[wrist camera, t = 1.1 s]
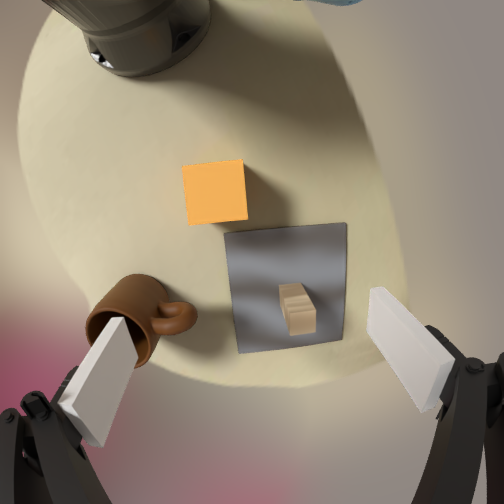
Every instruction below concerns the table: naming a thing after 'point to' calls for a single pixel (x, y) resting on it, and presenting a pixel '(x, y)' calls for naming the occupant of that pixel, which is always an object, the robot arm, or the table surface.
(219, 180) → the orange foam cube
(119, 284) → the mug
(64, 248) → the table surface
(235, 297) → the grey rubber mat
